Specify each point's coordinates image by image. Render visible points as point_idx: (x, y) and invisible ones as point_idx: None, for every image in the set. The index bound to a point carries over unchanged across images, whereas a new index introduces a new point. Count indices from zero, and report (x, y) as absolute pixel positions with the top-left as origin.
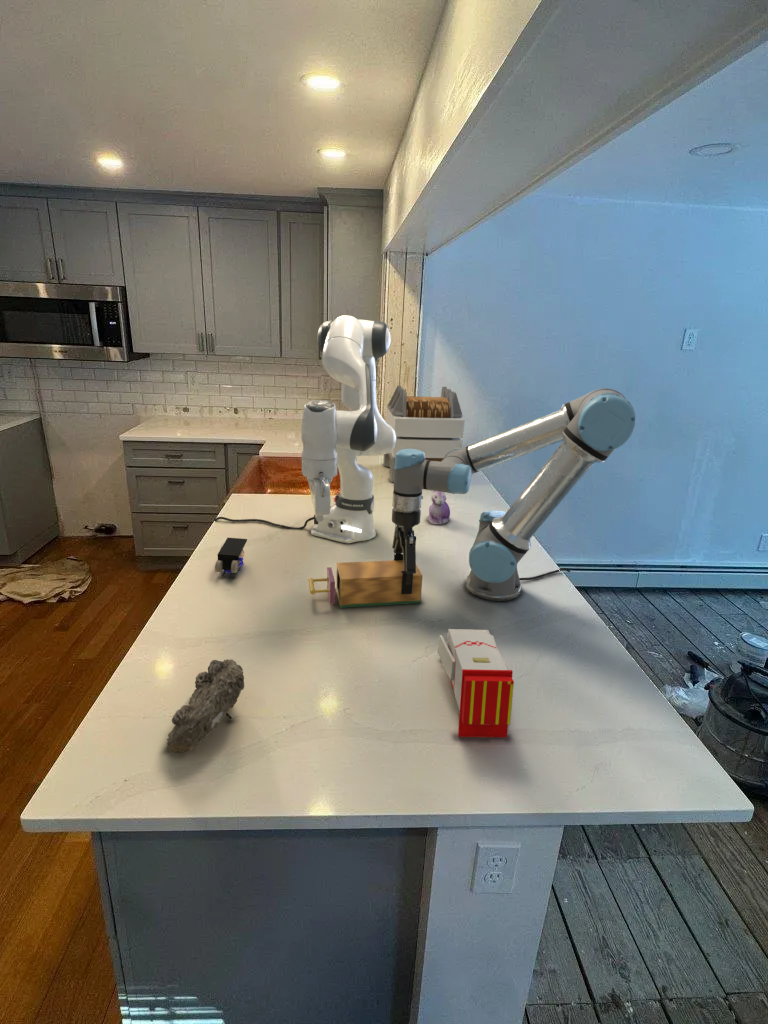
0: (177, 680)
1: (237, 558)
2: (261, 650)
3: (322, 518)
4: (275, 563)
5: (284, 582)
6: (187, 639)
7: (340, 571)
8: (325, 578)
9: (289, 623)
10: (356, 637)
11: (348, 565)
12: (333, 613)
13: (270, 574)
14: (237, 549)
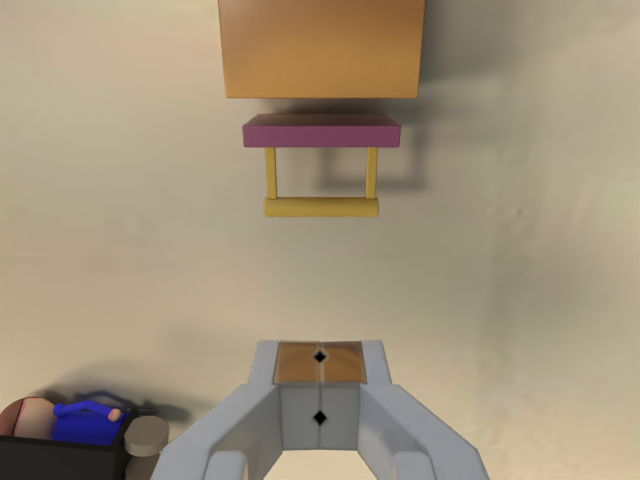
0: (624, 475)
1: (118, 445)
2: (574, 334)
3: (383, 361)
4: (34, 295)
5: (184, 271)
6: None
7: (331, 90)
8: (268, 147)
9: (458, 264)
10: (608, 57)
11: (261, 34)
12: (427, 121)
13: (125, 311)
14: (63, 458)
